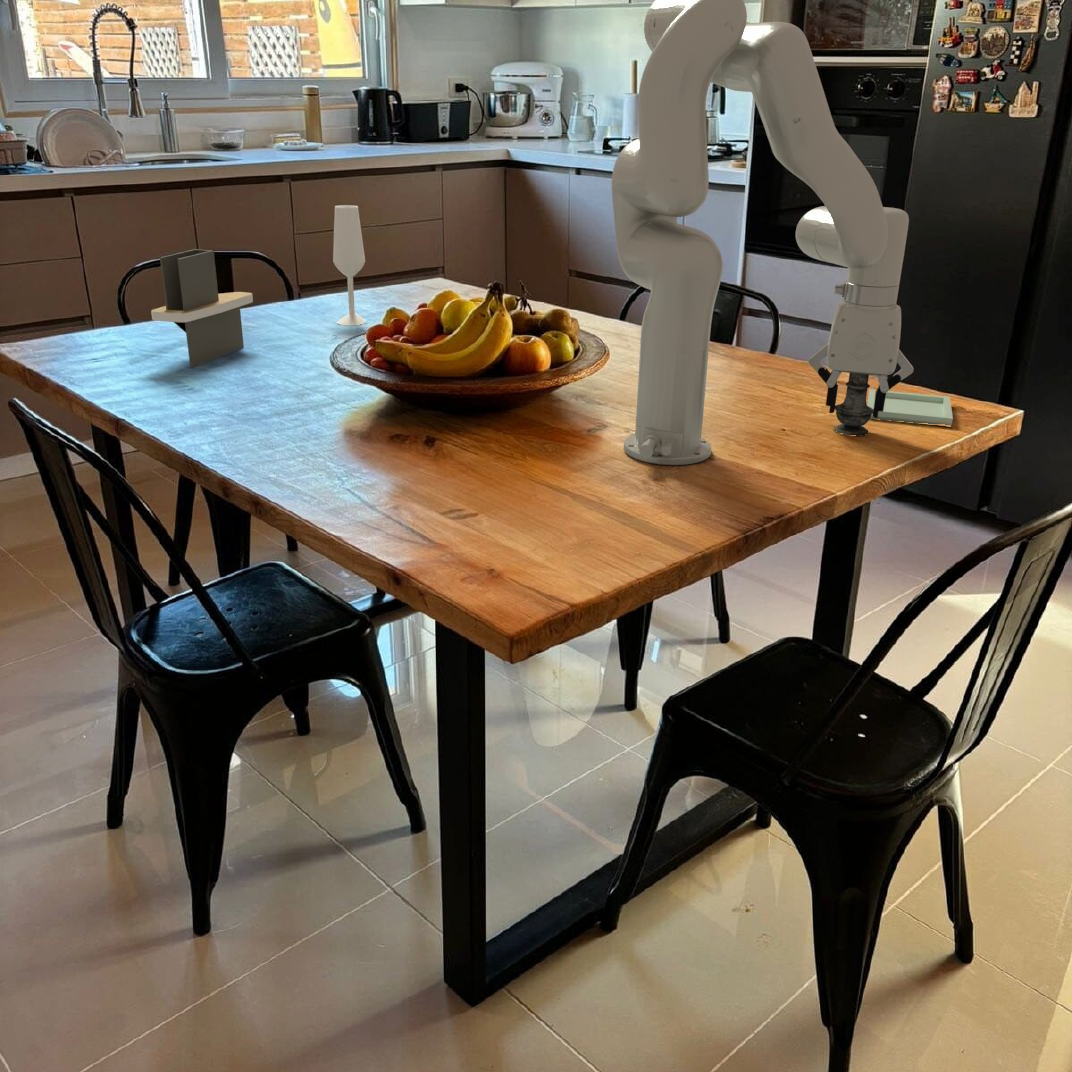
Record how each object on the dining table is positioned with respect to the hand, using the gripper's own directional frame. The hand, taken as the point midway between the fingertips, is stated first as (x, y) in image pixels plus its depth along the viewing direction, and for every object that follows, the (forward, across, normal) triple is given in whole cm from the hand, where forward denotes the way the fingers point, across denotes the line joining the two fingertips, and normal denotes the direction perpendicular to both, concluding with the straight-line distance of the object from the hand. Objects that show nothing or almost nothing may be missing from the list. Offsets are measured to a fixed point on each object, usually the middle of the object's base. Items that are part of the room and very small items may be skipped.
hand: (853, 411), depth 162 cm
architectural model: (+4, -117, +3) cm, 117 cm away
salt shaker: (+3, 0, 0) cm, 3 cm away
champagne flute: (+3, -106, +40) cm, 113 cm away
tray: (+3, +8, +14) cm, 17 cm away
